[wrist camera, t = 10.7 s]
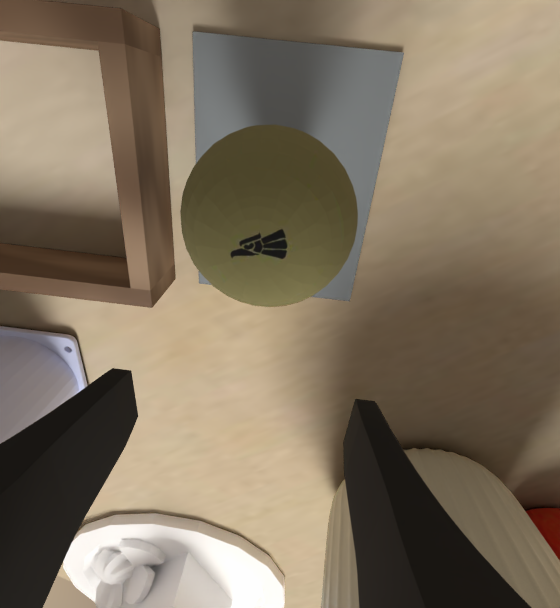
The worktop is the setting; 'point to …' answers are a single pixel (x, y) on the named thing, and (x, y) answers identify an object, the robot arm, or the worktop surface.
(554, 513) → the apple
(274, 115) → the pad
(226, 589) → the dish
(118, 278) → the walnut box
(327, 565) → the canister
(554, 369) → the worktop surface
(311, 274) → the light bulb
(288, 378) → the worktop surface
